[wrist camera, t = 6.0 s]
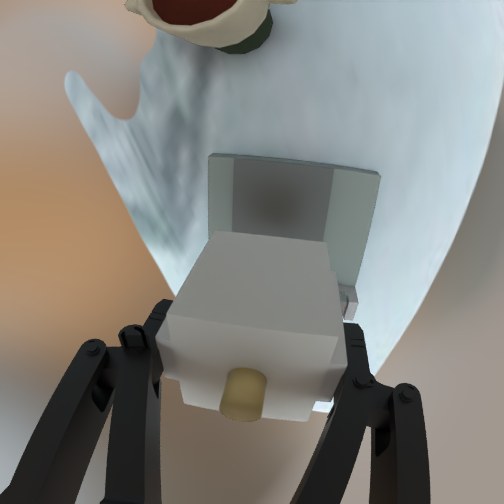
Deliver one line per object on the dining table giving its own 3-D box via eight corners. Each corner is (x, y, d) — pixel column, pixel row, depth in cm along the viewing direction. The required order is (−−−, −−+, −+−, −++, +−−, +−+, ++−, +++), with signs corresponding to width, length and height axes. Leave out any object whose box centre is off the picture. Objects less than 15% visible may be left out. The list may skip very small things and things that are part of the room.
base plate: (212, 153, 28) (198, 163, 24) (377, 172, 26) (389, 185, 23) (213, 278, 35) (202, 302, 32) (348, 295, 34) (352, 320, 30)
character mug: (299, -6, 19) (296, -73, 8) (298, 60, 23) (298, 29, 11) (184, -1, 20) (111, -44, 9) (182, 62, 24) (103, 50, 13)
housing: (214, 230, 16) (148, 345, 9) (326, 242, 16) (341, 373, 8) (216, 314, 19) (174, 429, 12) (309, 326, 19) (305, 449, 11)
